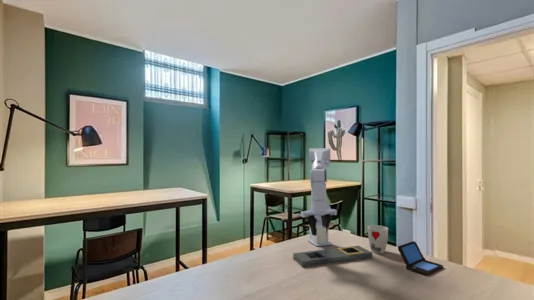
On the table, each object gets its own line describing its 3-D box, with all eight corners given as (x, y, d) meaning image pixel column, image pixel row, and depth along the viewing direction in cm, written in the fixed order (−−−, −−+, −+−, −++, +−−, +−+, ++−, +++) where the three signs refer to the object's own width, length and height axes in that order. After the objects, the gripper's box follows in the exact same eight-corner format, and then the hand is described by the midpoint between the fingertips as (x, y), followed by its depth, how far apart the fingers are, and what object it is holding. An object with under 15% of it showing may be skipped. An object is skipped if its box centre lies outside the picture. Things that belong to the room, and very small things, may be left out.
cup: (363, 249, 120) (363, 226, 120) (377, 247, 124) (377, 224, 124) (378, 256, 113) (378, 231, 113) (392, 252, 116) (392, 228, 116)
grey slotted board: (293, 258, 111) (293, 252, 111) (358, 250, 120) (358, 245, 120) (302, 267, 102) (302, 261, 102) (372, 257, 111) (372, 252, 111)
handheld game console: (427, 277, 94) (427, 255, 94) (396, 266, 103) (396, 246, 103) (444, 268, 101) (444, 247, 101) (414, 259, 110) (414, 240, 110)
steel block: (312, 241, 111) (312, 225, 111) (321, 240, 112) (321, 225, 112) (316, 244, 107) (316, 228, 107) (326, 243, 108) (326, 227, 108)
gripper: (305, 202, 104) (306, 239, 104) (340, 200, 108) (341, 235, 108) (298, 199, 110) (298, 233, 110) (331, 197, 115) (331, 230, 114)
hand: (319, 234), depth 109 cm, fingers closed on steel block, 4 cm apart
